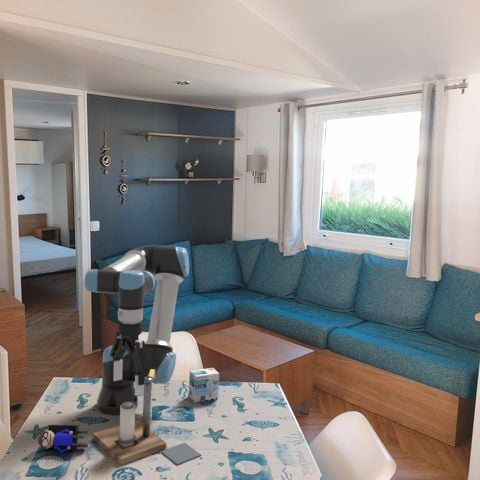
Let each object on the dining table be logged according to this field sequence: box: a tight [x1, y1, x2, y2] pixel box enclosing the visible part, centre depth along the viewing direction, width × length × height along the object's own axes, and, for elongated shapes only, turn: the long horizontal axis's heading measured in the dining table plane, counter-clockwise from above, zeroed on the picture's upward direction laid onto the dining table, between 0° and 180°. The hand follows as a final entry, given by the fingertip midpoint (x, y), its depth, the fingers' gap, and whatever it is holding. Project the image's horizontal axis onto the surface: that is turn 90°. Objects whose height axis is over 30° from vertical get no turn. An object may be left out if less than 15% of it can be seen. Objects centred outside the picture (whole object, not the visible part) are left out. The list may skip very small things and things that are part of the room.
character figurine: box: [37, 424, 89, 454], centre depth 153 cm, size 8×7×15 cm
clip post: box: [142, 376, 154, 438], centre depth 159 cm, size 4×4×20 cm
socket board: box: [92, 419, 167, 466], centre depth 158 cm, size 19×16×2 cm
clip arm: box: [149, 369, 155, 390], centre depth 167 cm, size 2×13×3 cm, turn 4°
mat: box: [160, 442, 202, 466], centre depth 154 cm, size 9×9×1 cm
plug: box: [118, 402, 136, 449], centre depth 155 cm, size 5×5×15 cm
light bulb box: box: [188, 367, 220, 403], centre depth 196 cm, size 11×7×11 cm, turn 118°
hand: (128, 387), depth 153 cm, fingers open, 13 cm apart
